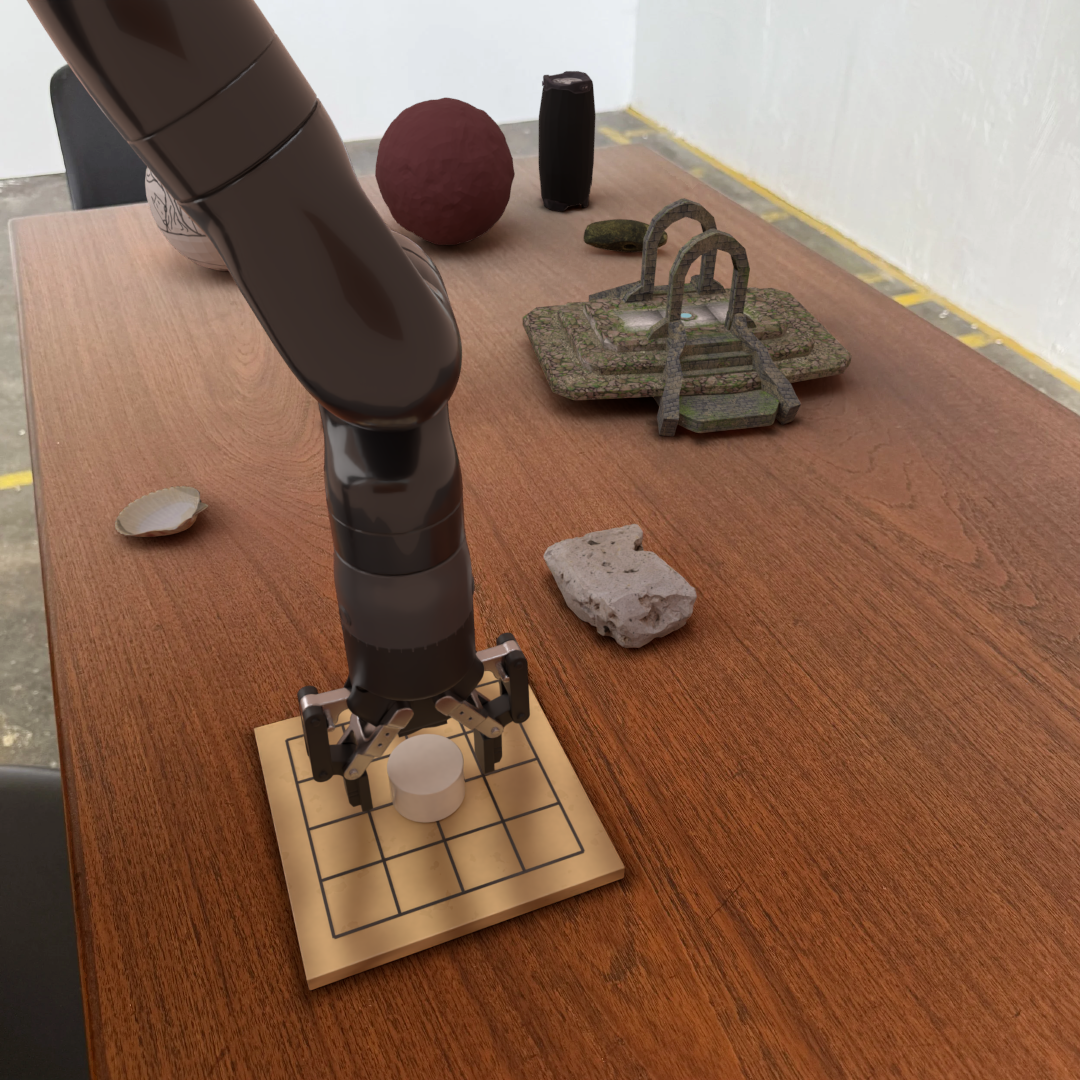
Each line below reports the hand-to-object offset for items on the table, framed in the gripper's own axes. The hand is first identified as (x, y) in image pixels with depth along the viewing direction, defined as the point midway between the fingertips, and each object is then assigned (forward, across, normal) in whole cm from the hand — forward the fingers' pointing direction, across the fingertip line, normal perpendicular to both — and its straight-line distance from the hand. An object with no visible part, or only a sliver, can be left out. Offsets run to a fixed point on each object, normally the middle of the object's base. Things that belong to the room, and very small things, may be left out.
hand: (425, 781), depth 64 cm
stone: (+3, -21, -14) cm, 25 cm away
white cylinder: (+1, 0, 0) cm, 1 cm away
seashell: (+3, +14, -39) cm, 42 cm away
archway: (+3, -46, -50) cm, 68 cm away
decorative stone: (+3, -55, -84) cm, 100 cm away
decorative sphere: (+3, -32, -98) cm, 103 cm away
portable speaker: (+3, -55, -107) cm, 120 cm away
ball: (+3, -1, -100) cm, 100 cm away
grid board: (+2, 0, 0) cm, 2 cm away
